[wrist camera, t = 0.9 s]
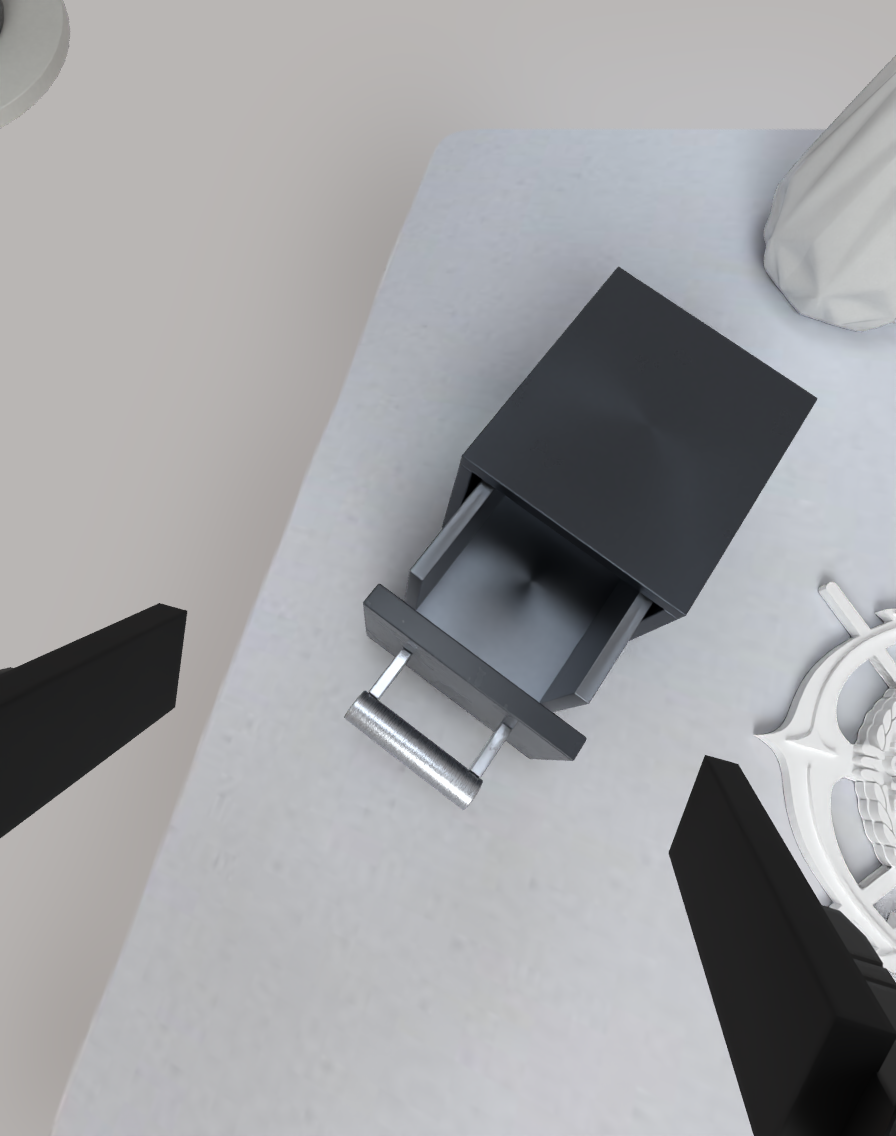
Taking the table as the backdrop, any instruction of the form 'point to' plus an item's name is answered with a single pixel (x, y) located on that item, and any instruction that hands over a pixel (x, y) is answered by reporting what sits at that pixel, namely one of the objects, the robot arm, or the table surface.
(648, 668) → the table surface
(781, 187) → the vase
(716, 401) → the small drawer cabinet
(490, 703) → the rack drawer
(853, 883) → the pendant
